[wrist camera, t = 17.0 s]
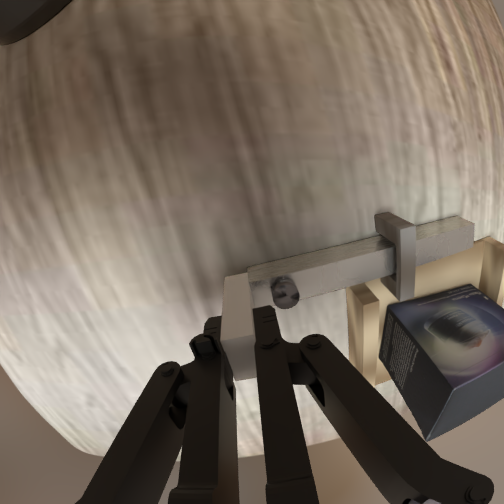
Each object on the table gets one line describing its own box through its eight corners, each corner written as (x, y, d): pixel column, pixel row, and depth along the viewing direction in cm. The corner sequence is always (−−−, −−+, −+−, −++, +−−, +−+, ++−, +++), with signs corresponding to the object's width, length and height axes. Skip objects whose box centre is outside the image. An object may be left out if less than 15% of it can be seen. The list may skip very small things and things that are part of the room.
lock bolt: (247, 267, 19) (249, 290, 16) (456, 215, 19) (482, 227, 16) (253, 292, 20) (256, 318, 17) (456, 237, 20) (480, 251, 16)
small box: (472, 278, 21) (543, 334, 11) (458, 332, 23) (512, 392, 13) (385, 301, 21) (457, 390, 11) (376, 359, 23) (424, 446, 13)
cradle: (339, 223, 19) (360, 239, 15) (490, 190, 18) (517, 198, 15) (349, 390, 25) (359, 416, 21) (470, 339, 24) (486, 356, 21)
